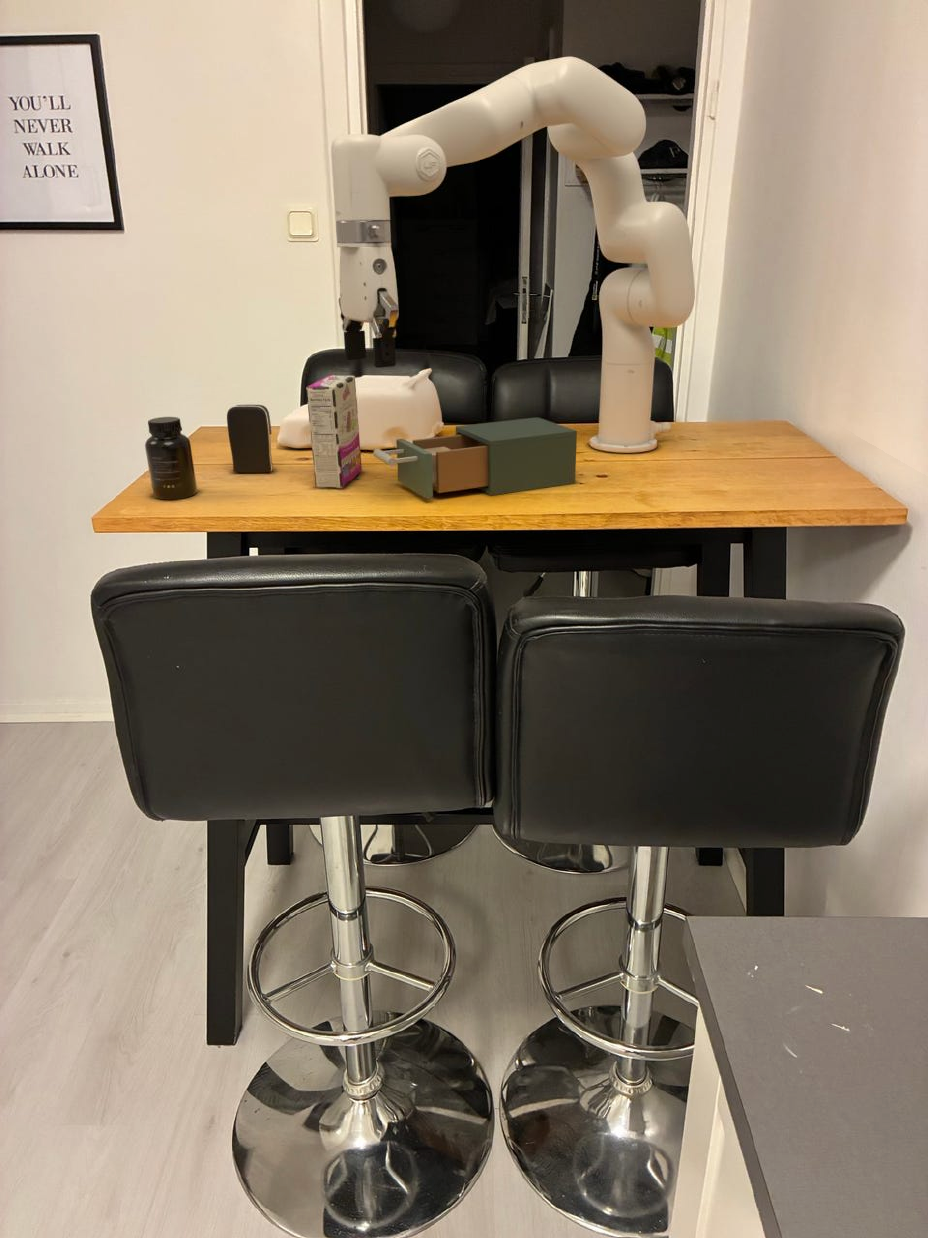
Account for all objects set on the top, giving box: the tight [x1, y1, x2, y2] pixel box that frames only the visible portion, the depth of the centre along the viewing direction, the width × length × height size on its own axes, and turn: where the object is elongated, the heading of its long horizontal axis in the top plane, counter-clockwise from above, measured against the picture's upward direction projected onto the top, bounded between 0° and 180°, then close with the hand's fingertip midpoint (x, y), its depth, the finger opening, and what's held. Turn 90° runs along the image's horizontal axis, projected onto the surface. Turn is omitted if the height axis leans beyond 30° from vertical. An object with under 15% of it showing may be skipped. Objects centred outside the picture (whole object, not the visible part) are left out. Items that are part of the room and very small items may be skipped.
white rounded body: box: [276, 367, 445, 451], centre depth 175 cm, size 19×30×13 cm, turn 79°
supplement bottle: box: [144, 416, 198, 501], centre depth 142 cm, size 7×7×12 cm
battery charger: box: [226, 404, 274, 474], centre depth 155 cm, size 7×4×11 cm, turn 88°
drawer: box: [372, 434, 489, 499], centre depth 143 cm, size 19×11×7 cm, turn 116°
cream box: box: [424, 447, 450, 484], centre depth 143 cm, size 4×4×4 cm
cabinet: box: [455, 417, 578, 497], centre depth 148 cm, size 16×13×9 cm
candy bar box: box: [305, 374, 363, 490], centre depth 148 cm, size 11×5×16 cm, turn 169°
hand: (369, 362), depth 132 cm, fingers open, 9 cm apart
